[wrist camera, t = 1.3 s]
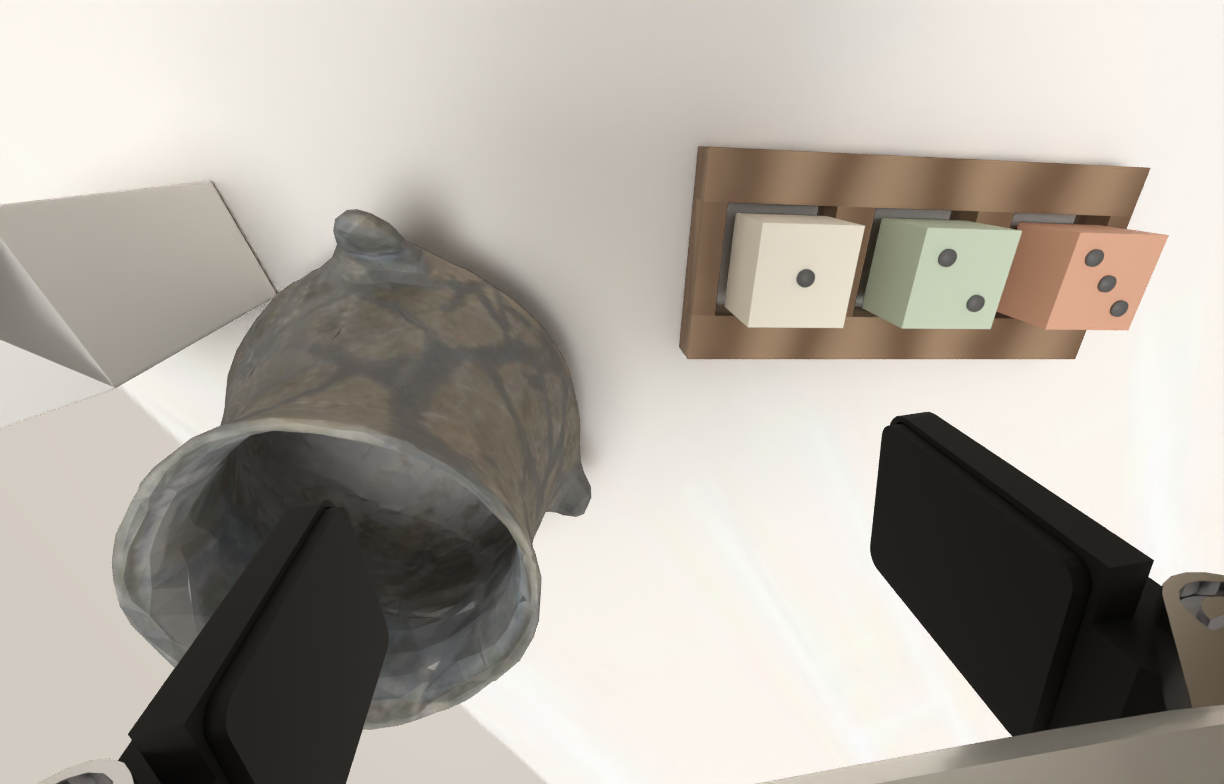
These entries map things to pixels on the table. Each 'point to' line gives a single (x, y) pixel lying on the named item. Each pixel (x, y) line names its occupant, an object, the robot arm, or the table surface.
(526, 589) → the vessel
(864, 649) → the table surface
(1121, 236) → the tile three pip
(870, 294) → the tile two pip
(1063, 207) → the tray
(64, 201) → the milk carton
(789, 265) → the tile one pip
